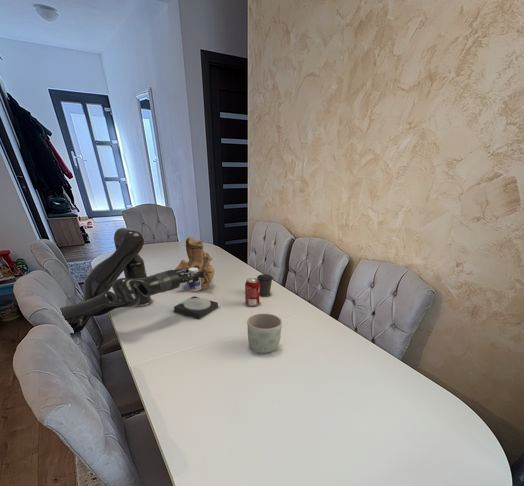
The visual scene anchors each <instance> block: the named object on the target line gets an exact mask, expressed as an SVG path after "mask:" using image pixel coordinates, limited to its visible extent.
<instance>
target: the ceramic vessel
mask: <svg viewBox="0 0 524 486" xmlns="http://www.w3.org/2000/svg"><path fill="white" fill-rule="evenodd" d="M185 250H186V255H187V259H188V261H186V260H185V259H181V260H180V263H179V264H178V265H177V266H176V267H175V268H174V270H176V269H183V270H184V269H189V268H198V272H199V271H203V273H204V276H202V277H200V279H201V289H200V290H199V291H203V290H206V289H207V288H208V287H209V284H211V283H212V281H213V279H214V276H215V269H214V267H213V264H211V261H212V260H213V258H214V257H212V256H211V255H210V253H209V252H205V251H204V243H203V240H196V239H195V238H194V237H192V236H189V237H187V238H186V239H185ZM186 283H187V285H189V283H188V282H186Z"/></svg>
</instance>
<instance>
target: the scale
mask: <svg viewBox="0 0 524 486" xmlns="http://www.w3.org/2000/svg"><path fill="white" fill-rule="evenodd" d="M218 308H219V302H217V301H213V300H210V299H207V298H204V297H198V296H196V295H195V296H194V295H193V296H191V297H189V298H187V299H185V300H183V301H181V302H180V303H178V304H176V305H174V306H173V310H174V313H177V314H181V315H184V316H188V317H191V318H194V319H198V320H200V319H202V318H203V317H205V316H207V315H208V314H210V313H211V312H213V311H216V309H218Z"/></svg>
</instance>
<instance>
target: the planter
mask: <svg viewBox="0 0 524 486" xmlns="http://www.w3.org/2000/svg"><path fill="white" fill-rule="evenodd" d="M246 322H247V323H246V325H247V340H248V344H249V347H250V348H251V349H252V350H253V351H255V352H257V353H263V354H264V353H265V354H266V353H271V352H273V351H275V350H276V349H277V348H278V347H279V346H280V341H281V335H282V326H283V325H282V324H283V320H282V319H281V318H280V317H279V316H277V315H275V314H271V313H262V312H261V313H256V314H253V315H251V316H249V317H248V318H247V321H246Z"/></svg>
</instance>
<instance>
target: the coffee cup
mask: <svg viewBox="0 0 524 486" xmlns="http://www.w3.org/2000/svg"><path fill="white" fill-rule="evenodd" d="M256 279H258V282H259V283H260V297H269V296H270V295H271V288H272V282H273V280H274V277H273V276H272V275H270V274H265V273H264V274H258V275H257V277H256Z"/></svg>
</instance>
